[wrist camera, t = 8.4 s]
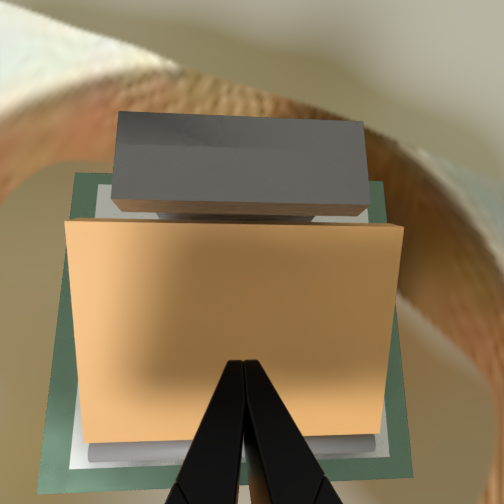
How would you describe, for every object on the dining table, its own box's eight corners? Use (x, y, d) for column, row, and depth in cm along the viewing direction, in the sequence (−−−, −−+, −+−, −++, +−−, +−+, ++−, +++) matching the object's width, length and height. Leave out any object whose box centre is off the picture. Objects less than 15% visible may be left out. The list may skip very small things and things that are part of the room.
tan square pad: (376, 457, 13) (404, 227, 11) (85, 469, 12) (64, 221, 11) (366, 438, 14) (390, 223, 12) (95, 448, 13) (78, 217, 12)
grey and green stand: (402, 469, 18) (656, 666, 7) (47, 484, 16) (-264, 755, 6) (375, 187, 22) (519, 52, 11) (82, 180, 20) (-73, 15, 10)
